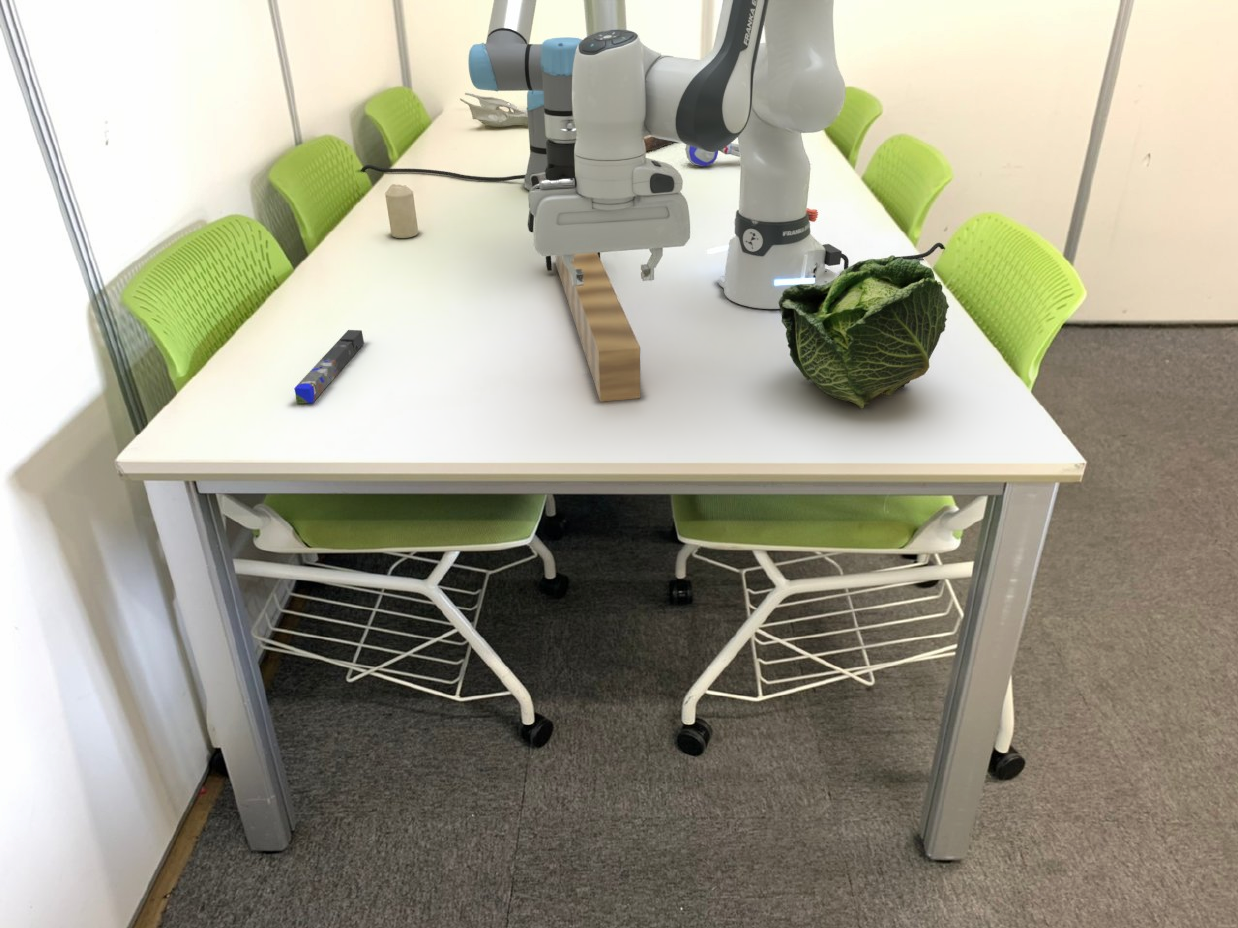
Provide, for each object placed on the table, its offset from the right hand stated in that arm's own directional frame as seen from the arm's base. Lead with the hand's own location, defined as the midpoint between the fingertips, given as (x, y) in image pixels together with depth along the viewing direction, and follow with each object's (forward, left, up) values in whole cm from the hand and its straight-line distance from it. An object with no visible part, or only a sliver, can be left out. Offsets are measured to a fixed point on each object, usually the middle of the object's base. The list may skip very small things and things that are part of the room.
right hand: (612, 282), depth 119 cm
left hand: (-31, -34, -14) cm, 48 cm away
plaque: (-126, -93, -15) cm, 157 cm away
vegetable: (-19, +28, -15) cm, 37 cm away
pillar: (+22, -35, -15) cm, 44 cm away
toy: (-116, -50, -15) cm, 128 cm away
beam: (-15, -17, -15) cm, 28 cm away
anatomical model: (-114, -134, -15) cm, 177 cm away
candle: (-27, -77, -15) cm, 83 cm away
